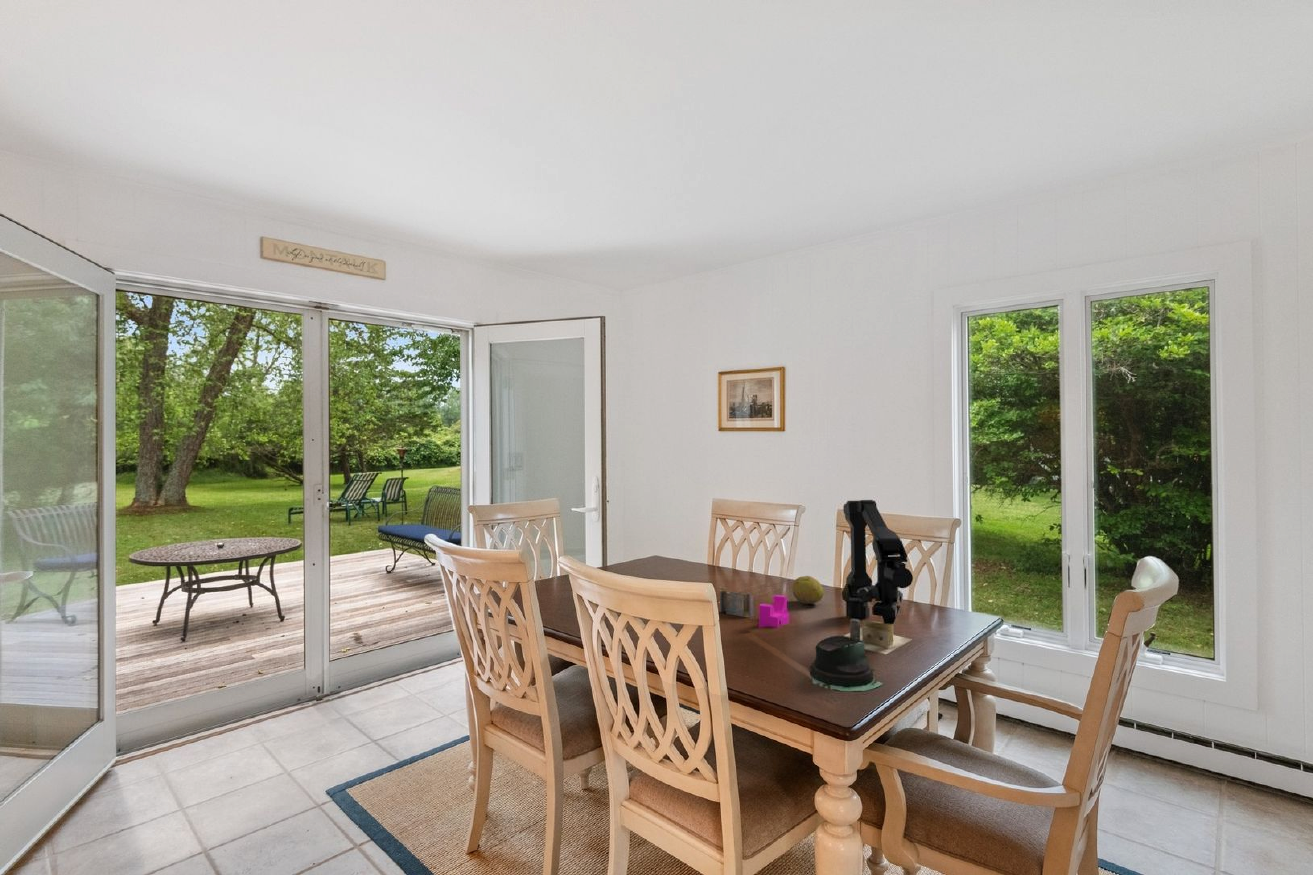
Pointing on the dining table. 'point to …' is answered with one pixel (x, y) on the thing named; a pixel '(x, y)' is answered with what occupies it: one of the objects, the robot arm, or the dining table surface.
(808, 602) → the fruit
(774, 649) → the dining table surface
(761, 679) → the dining table surface
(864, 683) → the dark green hat
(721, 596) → the ruin model on sheet
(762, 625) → the toy block
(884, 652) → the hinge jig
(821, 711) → the dining table surface
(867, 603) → the robot arm
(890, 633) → the brass leaf
